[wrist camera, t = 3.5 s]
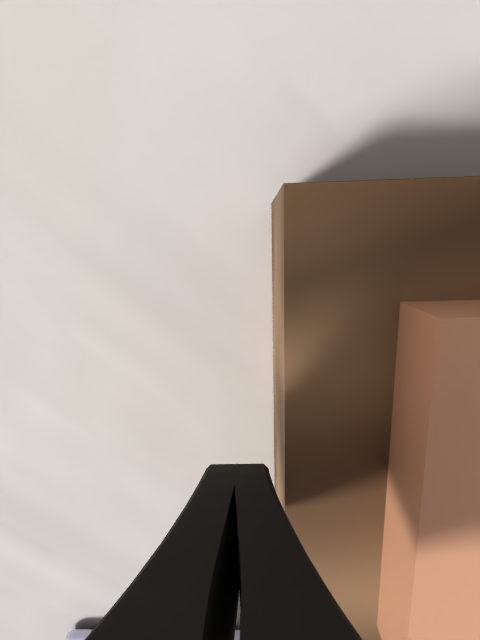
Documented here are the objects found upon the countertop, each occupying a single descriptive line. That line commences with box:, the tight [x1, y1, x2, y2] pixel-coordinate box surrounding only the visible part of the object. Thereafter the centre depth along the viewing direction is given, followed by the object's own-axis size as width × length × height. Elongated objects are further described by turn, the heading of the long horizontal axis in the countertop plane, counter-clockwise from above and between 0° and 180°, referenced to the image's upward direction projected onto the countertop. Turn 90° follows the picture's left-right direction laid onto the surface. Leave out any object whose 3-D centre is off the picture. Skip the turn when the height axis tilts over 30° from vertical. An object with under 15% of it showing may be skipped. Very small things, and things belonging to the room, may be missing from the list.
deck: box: [272, 176, 480, 640], centre depth 10 cm, size 14×10×4 cm
